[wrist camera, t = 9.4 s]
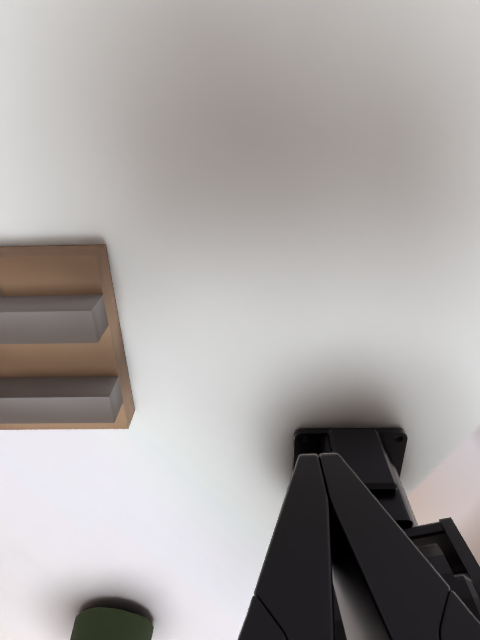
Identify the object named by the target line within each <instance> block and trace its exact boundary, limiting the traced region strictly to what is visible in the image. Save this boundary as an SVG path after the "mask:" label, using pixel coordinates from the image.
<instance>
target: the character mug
mask: <svg viewBox="0 0 480 640" xmlns="http://www.w3.org/2000/svg"><path fill="white" fill-rule="evenodd" d="M153 628H154V627H153V626H152V624H151V622H150V621H149V619H148V618H146V617H143V616H140V615H137V614H134V613H131V612H127V611H123V610H120V609H115V608H106V607H95V608H89V609H84V610H83V611H82V612H81V613H80V614H79V615H78V616H77V617H76V619H75V623H74V627H73V631H72V635H71V639H70V640H151V638H152V633H153Z"/></svg>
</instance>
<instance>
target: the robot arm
mask: <svg viewBox="0 0 480 640" xmlns="http://www.w3.org/2000/svg"><path fill="white" fill-rule="evenodd" d="M397 436H399V437H397ZM300 437H305V438H300ZM395 437H397V438H395ZM406 443H407V435H406V433H405V431H404V430H403V429H401V428H307V429H299V430H297V431H296V432H295V433H294V443H293V466H292V477H291V480H290V483H289V486H288V489H287V492H286V495H285V499H284V502H283V505H282V508H281V511H280V514H279V517H278V520H277V523H276V526H275V529H274V532H273V536H272V539H271V542H270V545H269V548H268V551H267V554H266V557H265V560H264V563H263V566H262V570H261V573H260V576H259V579H258V582H257V585H256V588H255V591H254V596H253V597H252V600H251V603H250V606H249V609H248V612H247V615H246V618H245V621H244V623H243V626H242V629H241V632H240V634H239V637H238V640H480V566H479V565H478V563H477V561H476V560H475V558H474V556H473V555H472V553H471V551H470V549H469V548H468V546H467V544H466V543H465V541H464V539H463V537H462V536H461V534H460V533H459V531H458V529H457V527H456V526H455V524H454V522H453V520H452V519H451V517H450V518H445V519H440V520H439V522H435V523H430V524H426V525H421V526H418V524H417V522H416V519H415V516H414V514H413V511H412V509H411V506H410V504H409V501H408V499H407V496H406V493H405V491H404V488H403V486H402V483H401V481H400V473H401V468H402V463H403V458H404V453H405V448H406Z"/></svg>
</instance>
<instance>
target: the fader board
mask: <svg viewBox="0 0 480 640" xmlns="http://www.w3.org/2000/svg"><path fill="white" fill-rule="evenodd" d="M134 412H135V409H134V404H133V398H132V392H131V387H130V381H129V375H128V370H127V364H126V358H125V353H124V347H123V341H122V336H121V330H120V324H119V318H118V313H117V307H116V301H115V296H114V290H113V284H112V279H111V273H110V267H109V262H108V256H107V250H106V245H64V246H13V247H0V430H26V429H129V426H130V423H131V420H132V417H133V414H134Z"/></svg>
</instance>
